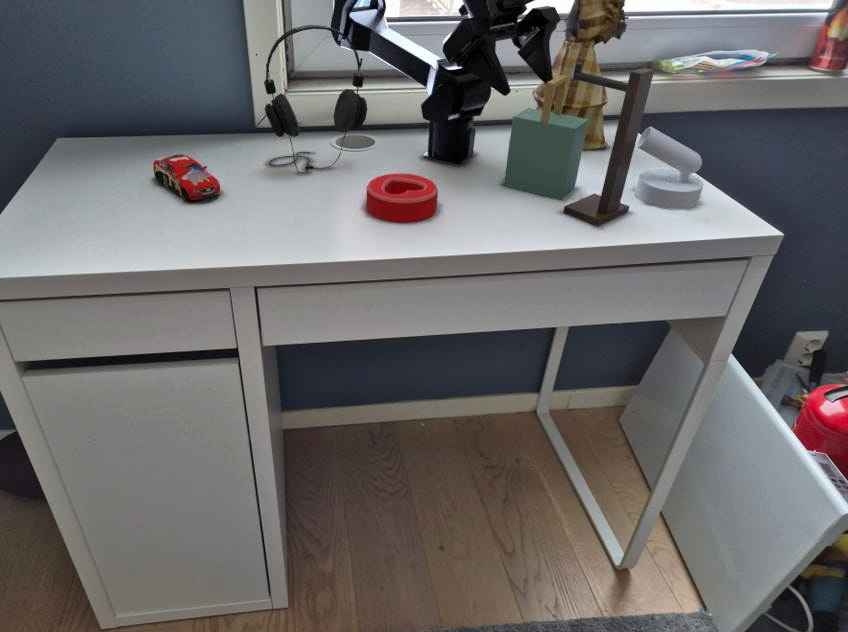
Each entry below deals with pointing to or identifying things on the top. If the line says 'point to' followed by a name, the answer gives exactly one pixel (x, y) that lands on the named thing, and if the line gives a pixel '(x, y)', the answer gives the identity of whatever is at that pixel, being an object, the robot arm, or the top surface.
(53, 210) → the top surface
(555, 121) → the tote bag
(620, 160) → the hook stand
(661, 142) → the grey spotlight lamp
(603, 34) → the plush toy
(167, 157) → the race car
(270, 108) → the headphones
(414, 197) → the decorative ornament
